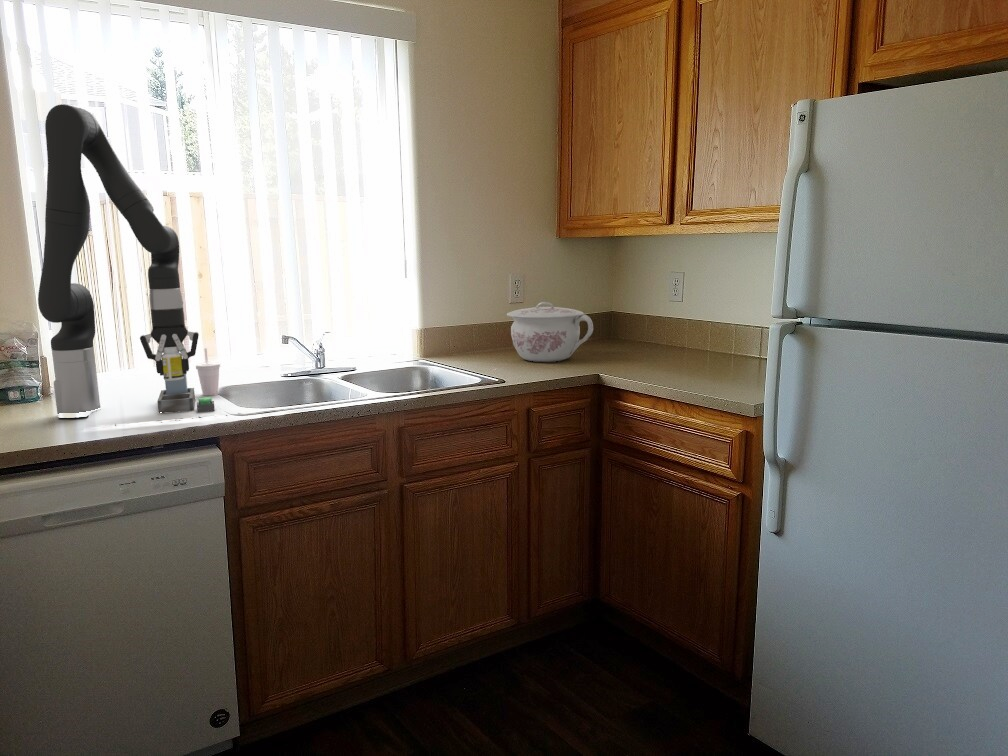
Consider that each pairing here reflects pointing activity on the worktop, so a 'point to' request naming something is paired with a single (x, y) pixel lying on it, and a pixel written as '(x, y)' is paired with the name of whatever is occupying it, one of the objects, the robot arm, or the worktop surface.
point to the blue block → (176, 386)
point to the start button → (205, 400)
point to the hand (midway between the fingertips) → (173, 373)
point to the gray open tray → (176, 401)
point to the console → (205, 407)
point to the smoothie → (208, 376)
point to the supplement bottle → (172, 364)
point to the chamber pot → (547, 332)
